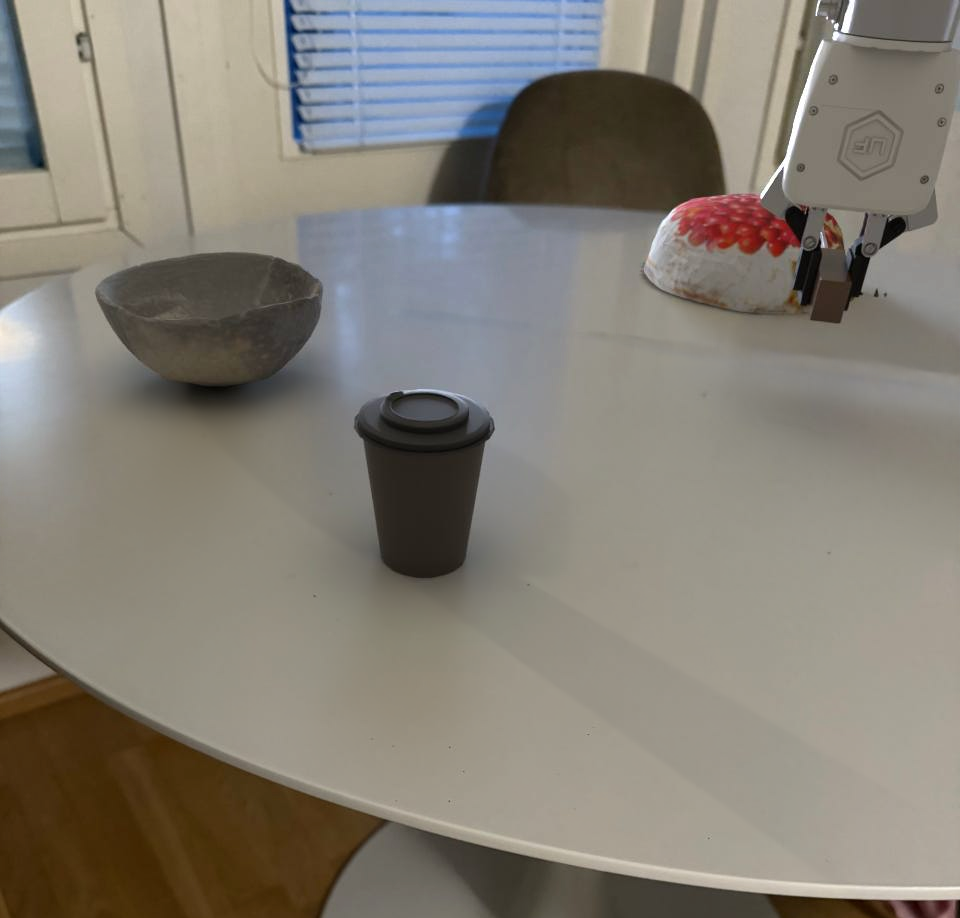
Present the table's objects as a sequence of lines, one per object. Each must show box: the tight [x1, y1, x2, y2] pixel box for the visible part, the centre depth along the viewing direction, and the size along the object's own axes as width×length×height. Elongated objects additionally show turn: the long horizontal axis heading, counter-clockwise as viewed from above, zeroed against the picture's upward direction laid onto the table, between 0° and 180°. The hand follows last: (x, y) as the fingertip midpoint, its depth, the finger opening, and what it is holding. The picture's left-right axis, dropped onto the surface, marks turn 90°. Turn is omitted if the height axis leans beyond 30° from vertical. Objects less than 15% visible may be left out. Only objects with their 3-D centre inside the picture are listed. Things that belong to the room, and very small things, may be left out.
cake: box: [643, 192, 888, 315], centre depth 102 cm, size 23×24×10 cm
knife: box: [808, 226, 852, 325], centre depth 76 cm, size 18×2×3 cm, turn 168°
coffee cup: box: [353, 388, 496, 578], centre depth 57 cm, size 8×8×10 cm
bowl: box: [94, 251, 324, 387], centre depth 79 cm, size 18×18×8 cm
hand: (822, 301), depth 73 cm, fingers closed on knife, 2 cm apart
